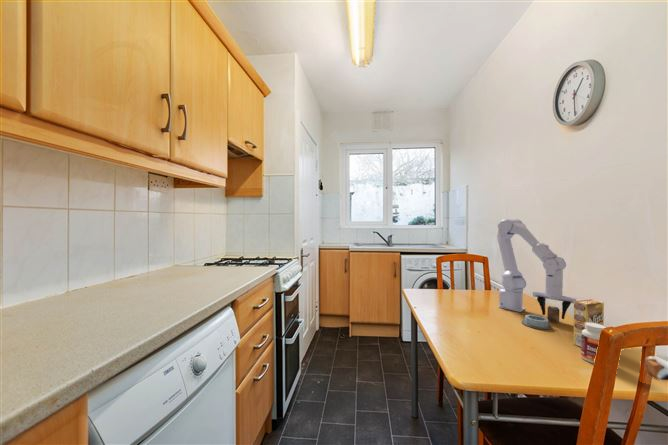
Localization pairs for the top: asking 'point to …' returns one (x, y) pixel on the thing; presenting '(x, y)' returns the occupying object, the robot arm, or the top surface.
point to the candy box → (586, 316)
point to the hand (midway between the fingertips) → (553, 316)
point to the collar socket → (536, 322)
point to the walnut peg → (553, 314)
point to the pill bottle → (590, 341)
